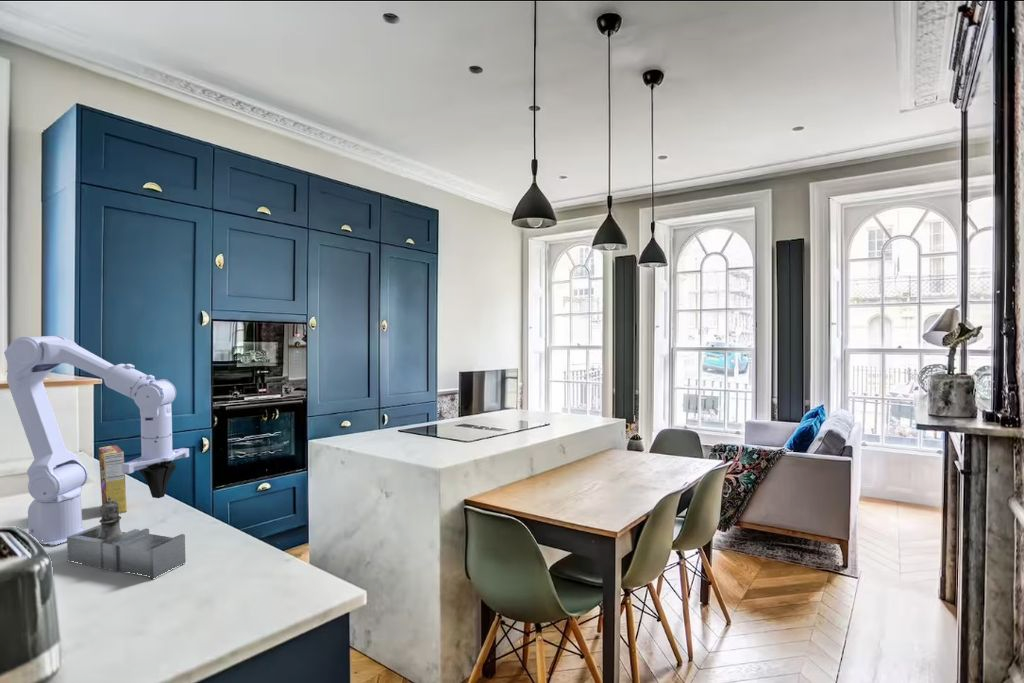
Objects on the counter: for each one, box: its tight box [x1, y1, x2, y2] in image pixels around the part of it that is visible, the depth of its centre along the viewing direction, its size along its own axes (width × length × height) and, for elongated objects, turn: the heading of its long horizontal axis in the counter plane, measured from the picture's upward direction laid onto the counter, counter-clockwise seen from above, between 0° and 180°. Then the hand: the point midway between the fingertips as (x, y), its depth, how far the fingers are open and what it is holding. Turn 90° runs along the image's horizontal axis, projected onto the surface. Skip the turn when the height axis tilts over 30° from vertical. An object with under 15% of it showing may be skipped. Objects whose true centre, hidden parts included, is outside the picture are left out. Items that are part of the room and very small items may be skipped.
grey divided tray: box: [66, 524, 187, 579], centre depth 108 cm, size 23×7×6 cm, turn 73°
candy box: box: [98, 445, 128, 514], centre depth 137 cm, size 9×4×15 cm, turn 44°
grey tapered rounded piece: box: [97, 497, 127, 540], centre depth 111 cm, size 6×6×12 cm
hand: (158, 496), depth 121 cm, fingers closed
